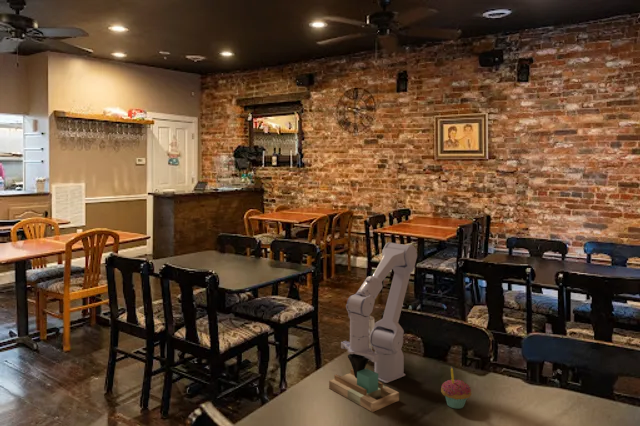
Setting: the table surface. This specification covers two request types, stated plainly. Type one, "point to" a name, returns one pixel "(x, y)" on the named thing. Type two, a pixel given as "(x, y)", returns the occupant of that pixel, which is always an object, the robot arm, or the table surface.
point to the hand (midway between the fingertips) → (358, 377)
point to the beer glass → (371, 326)
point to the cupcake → (455, 392)
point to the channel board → (363, 392)
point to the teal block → (367, 380)
